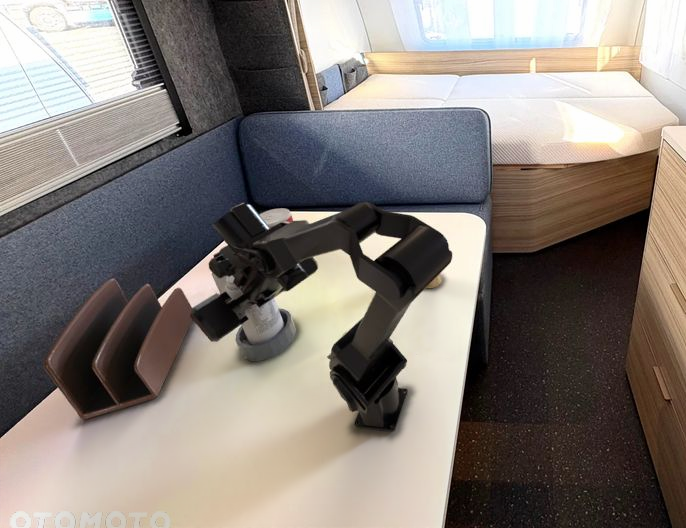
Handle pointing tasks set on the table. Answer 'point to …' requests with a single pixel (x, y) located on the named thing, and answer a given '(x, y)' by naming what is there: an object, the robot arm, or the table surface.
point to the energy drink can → (258, 317)
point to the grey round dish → (268, 347)
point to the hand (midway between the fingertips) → (251, 303)
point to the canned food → (276, 216)
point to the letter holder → (118, 349)
